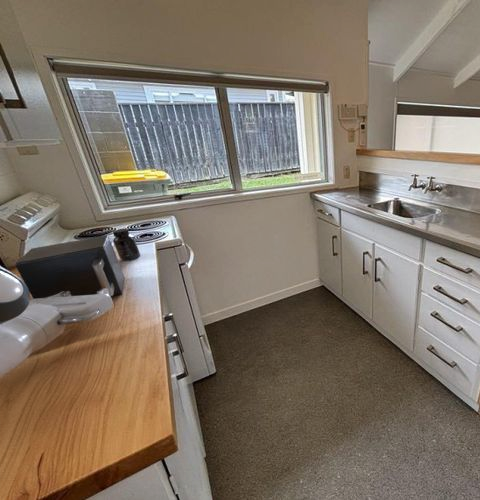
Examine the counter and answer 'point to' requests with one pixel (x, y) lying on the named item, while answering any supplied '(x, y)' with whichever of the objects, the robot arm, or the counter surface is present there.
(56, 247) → the cupboard
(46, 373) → the counter surface
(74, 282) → the cupboard door
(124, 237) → the supplement bottle
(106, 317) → the counter surface
